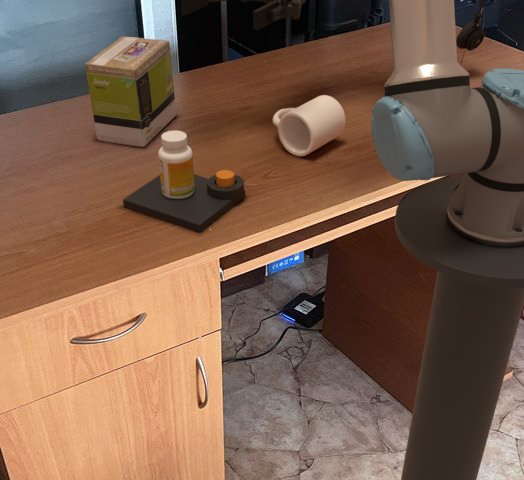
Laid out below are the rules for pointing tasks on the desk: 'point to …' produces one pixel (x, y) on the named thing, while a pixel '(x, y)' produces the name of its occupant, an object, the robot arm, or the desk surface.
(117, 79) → the tea box
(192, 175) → the supplement bottle
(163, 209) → the dark grey flat block
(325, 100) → the mug
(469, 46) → the headphones
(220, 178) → the tare button
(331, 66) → the desk surface
